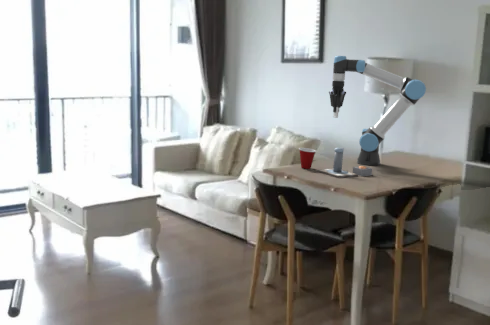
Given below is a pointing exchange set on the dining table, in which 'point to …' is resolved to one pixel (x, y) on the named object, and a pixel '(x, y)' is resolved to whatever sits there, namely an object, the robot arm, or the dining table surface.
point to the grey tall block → (338, 160)
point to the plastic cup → (306, 157)
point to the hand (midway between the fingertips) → (335, 117)
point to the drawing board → (336, 174)
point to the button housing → (362, 171)
